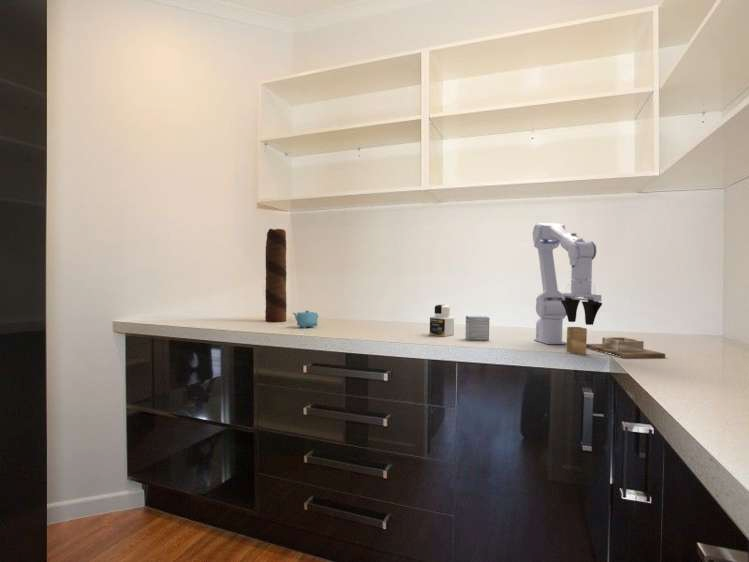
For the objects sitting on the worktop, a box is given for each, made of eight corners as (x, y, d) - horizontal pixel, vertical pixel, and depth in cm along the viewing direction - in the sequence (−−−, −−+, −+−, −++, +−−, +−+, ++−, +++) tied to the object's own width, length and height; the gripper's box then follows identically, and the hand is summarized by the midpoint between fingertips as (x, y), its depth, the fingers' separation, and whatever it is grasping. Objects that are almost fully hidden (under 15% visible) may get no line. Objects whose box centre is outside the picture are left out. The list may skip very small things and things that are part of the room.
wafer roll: (266, 322, 192) (267, 227, 191) (263, 320, 202) (264, 230, 201) (288, 322, 196) (289, 229, 195) (284, 319, 206) (285, 231, 205)
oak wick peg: (566, 351, 130) (567, 326, 130) (578, 351, 131) (578, 326, 130) (574, 354, 126) (574, 328, 126) (586, 354, 127) (586, 328, 127)
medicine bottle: (429, 334, 163) (429, 304, 162) (439, 333, 168) (439, 304, 168) (444, 336, 158) (444, 306, 158) (454, 334, 163) (454, 305, 163)
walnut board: (584, 347, 138) (584, 335, 138) (621, 347, 140) (621, 334, 140) (623, 358, 121) (623, 344, 121) (665, 357, 123) (665, 343, 122)
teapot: (293, 329, 173) (293, 311, 173) (289, 327, 178) (289, 310, 178) (320, 327, 178) (320, 310, 178) (315, 326, 184) (315, 309, 184)
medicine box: (485, 338, 155) (486, 316, 154) (489, 340, 150) (489, 317, 150) (465, 338, 154) (465, 315, 154) (468, 340, 150) (468, 317, 150)
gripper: (554, 279, 134) (554, 320, 134) (587, 280, 120) (586, 326, 120) (573, 279, 135) (572, 320, 135) (607, 280, 121) (606, 325, 121)
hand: (580, 323), depth 128 cm, fingers open, 7 cm apart
